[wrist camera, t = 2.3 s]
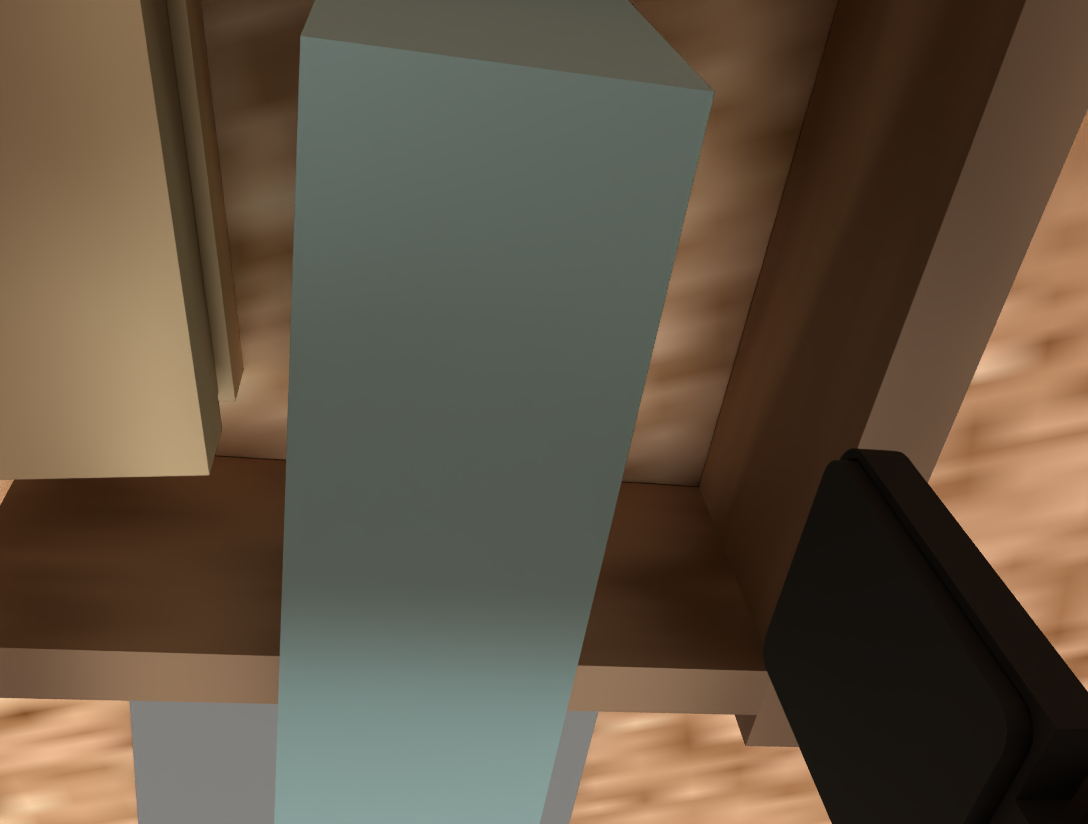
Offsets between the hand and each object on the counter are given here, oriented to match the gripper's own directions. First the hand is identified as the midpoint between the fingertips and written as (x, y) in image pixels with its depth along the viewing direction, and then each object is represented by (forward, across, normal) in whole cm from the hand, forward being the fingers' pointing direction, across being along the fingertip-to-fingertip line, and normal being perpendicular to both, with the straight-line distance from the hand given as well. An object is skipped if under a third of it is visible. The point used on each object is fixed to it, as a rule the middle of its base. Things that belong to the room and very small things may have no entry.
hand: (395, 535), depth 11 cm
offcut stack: (+11, +6, 0) cm, 13 cm away
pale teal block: (+11, -1, 0) cm, 11 cm away
